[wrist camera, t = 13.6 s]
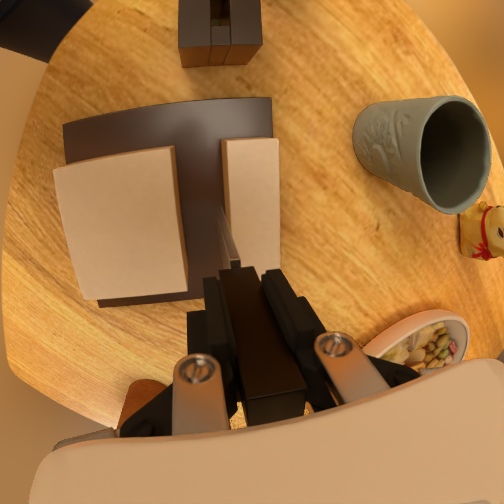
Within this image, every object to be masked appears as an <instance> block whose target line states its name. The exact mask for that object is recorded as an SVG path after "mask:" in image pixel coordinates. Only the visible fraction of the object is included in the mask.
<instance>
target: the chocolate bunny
mask: <svg viewBox="0 0 504 504" xmlns="http://www.w3.org/2000/svg"><path fill="white" fill-rule="evenodd" d="M459 219H460V250H461V252H462V254H463V255H465V256H467V257H470V258H475V259H479V260H485V261H488V260H490V259H491V258H496V257H498V256H501V257H504V206H501V205H499V206H496V207H492V206H488V205H487V204H486V202H484V201H482V202H480V204H477V203H474V204H473V205H472V206H471V207H469V208H468V209H467V210H465V211H464V212H462V213H459Z"/></svg>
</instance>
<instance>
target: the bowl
mask: <svg viewBox="0 0 504 504" xmlns="http://www.w3.org/2000/svg"><path fill="white" fill-rule="evenodd" d="M469 341H470V330H469V326H468V324H467V322H466V321H465V320H464V319H463V318H462V317H461V316H459V315H458V314H456V313H454V312H452V311H448V310H443V309H433V310H427V311H422V312H419V313H416V314H413V315H411V316H409V317H406V318H404V319H402V320H400V321H399V322H397V323H395V324H393V325H392V326H390V327H389V328H387V329H386V330H384V331H383V332H381V333H380V334H379V335H377V336H376V337H375V338H374V339H372V340H371V341H370V342H369V343H368V344H366V345H365V346H364V347H363V348H362V350H363V352H364V353H365V354H366V355H370V356H373V357H376V358H380V359H383V360H387V361H390V362H394V363H397V364H401V365H405V366H408V367H410V368H413V369H414V370H415V371H417V372H418V370H419V369H423V368H435V367H446V366H448V365H451V364H454V363H457V362H460V361H463V359H464V357H465V355H466V352H467V349H468V346H469Z"/></svg>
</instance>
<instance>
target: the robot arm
mask: <svg viewBox="0 0 504 504" xmlns="http://www.w3.org/2000/svg"><path fill="white" fill-rule="evenodd" d="M1 1H2V0H0V2H1ZM202 279H203V290H204V300H205V310H200V311H191V312H187V348H188V356H185V357H183V358H182V359H180V360H179V361H178V362H177V364H176V365H175V367H174V372H173V383H172V384H170V385H169V386H168V387H167V388H165V389H164V390H163V391H162V392H161V393H159V394H158V395H157V396H156V397H154V398H153V399H152V400H151V401H149V402H148V403H147V404H146V405H144V406H143V407H142V408H141V409H139V410H138V411H137V412H135V413H134V414H133V415H132V416H130V417H129V418H128V419H127V420H126V421H125V422H124V423H123V424H122V426H121V428H119V429H115V430H114V429H113V428H112V427H111V428H107V429H104V430H100V431H96V432H93V433H89V434H85V435H81V436H77V437H73V438H69V439H64V440H62V441H60V442H58V443H57V444H56V445H55V446H54V449H53V451H52V452H51V453H50V454H48V455H47V456H46V457H45V458H44V459H43V461H42V462H41V464H40V465H39V468H38V470H37V472H36V475H35V478H34V481H33V485H32V488H31V493H30V497H29V503H28V504H504V364H503V363H502V362H500V361H498V360H496V359H491V358H476V359H470V360H465V361H460V362H457V363H454V364H451V365H448V366H446V367H435V368H423V369H419V370H418V372H417V371H415V370H414V369H413V368H410V367H408V366H405V365H401V364H397V363H394V362H390V361H387V360H383V359H380V358H376V357H373V356H370V355H366V354H365V353H364V352H363V350H362V349H361V348H360V346H359V345H358V344H357V342H356V341H355V340H354V339H353V338H352V337H351V336H349V335H347V334H345V333H342V332H335V331H332V332H327V331H326V329H325V328H324V326H323V324H322V323H321V321H320V320H319V318H318V317H317V315H316V313H315V312H314V310H313V309H312V307H311V306H310V304H309V302H308V301H307V299H306V298H305V297H304V296H301V297H297V296H296V294H295V293H294V291H293V289H292V288H291V286H290V284H289V283H288V281H287V279H286V278H285V276H284V274H283V273H282V271H281V269H280V268H279V269H271V270H266V272H265V274H261V285H262V287H263V289H264V292H265V294H266V296H267V298H268V301H269V303H270V305H271V307H272V310H273V312H274V314H275V317H276V319H277V321H278V323H279V326H280V328H281V330H282V332H283V335H284V337H285V339H286V341H287V344H288V346H289V347H290V348H291V351H292V353H293V355H294V357H295V359H296V362H297V364H298V366H299V368H300V371H301V373H302V375H303V377H304V379H305V382H306V384H307V386H308V391H307V397H306V407H307V409H308V411H309V414H308V415H304V416H300V417H296V418H292V419H287V420H282V421H278V422H273V423H268V424H262V425H257V426H251V427H245V428H239V429H232V430H231V425H230V418H231V417H232V416H233V415H234V414H235V413H236V412H237V411H238V407H237V402H241V398H240V394H239V385H238V376H237V367H236V356H237V352H236V344H235V338H234V333H233V329H232V324H231V320H230V315H229V311H228V306H227V301H226V297H225V292H224V287H223V283H222V279H219V280H217V279H216V276H213V277H205V278H202Z"/></svg>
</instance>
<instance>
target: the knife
mask: <svg viewBox="0 0 504 504" xmlns="http://www.w3.org/2000/svg"><path fill="white" fill-rule="evenodd" d="M214 208H215V221H216V232H217V241H218V246H219V250H220V254H221V259H222V263H223V267H224V269H223V270H218V279H222V283H223V287H224V292H225V297H226V301H227V306H228V311H229V315H230V320H231V324H232V329H233V333H234V338H235V344H236V352H237V356H236V367H237V376H238V385H239V394H240V398H241V403H242V407H243V412H244V416H245V420H246V425H247V427H251V426H257V425H262V424H268V423H273V422H278V421H282V420H287V419H292V418H296V417H300V416H303V415H304V410H305V403H306V397H307V391H308V386H307V384H306V382H305V379H304V377H303V375H302V373H301V371H300V368H299V366H298V364H297V362H296V359H295V357H294V355H293V353H292V351H291V348H290V347H289V346H288V344H287V341H286V339H285V337H284V335H283V332H282V330H281V328H280V326H279V323H278V321H277V319H276V317H275V314H274V312H273V310H272V307H271V305H270V303H269V301H268V298H267V296H266V294H265V292H264V289H263V287H262V285H261V281H260V279H259V277H258V274H257V272H256V270H255V268H254V266H248V267H241V258H240V256H239V253H238V250H237V248H236V245H235V242H234V239H233V237H232V234H231V231H230V229H229V226H228V223H227V220H226V218H225V215H224V212H223V210H222V207H221V206H215V207H214Z"/></svg>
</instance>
